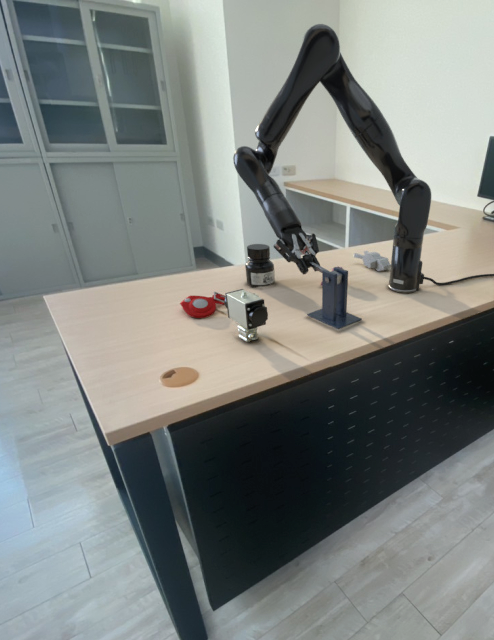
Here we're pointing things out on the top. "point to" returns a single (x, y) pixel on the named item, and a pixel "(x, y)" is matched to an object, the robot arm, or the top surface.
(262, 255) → the ink bottle
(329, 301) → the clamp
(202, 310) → the tracker holder
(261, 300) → the pneumatic valve
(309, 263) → the clamp handle
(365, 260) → the bunny figurine
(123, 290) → the top surface
